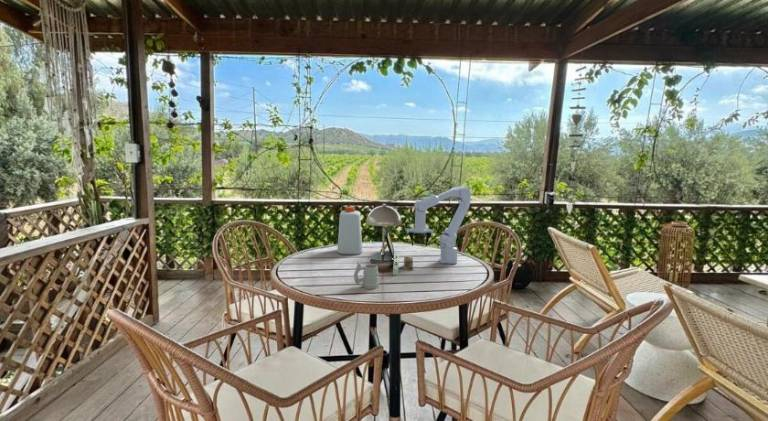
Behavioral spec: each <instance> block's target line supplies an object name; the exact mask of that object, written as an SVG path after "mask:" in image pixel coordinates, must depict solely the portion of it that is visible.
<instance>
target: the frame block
mask: <svg viewBox="0 0 768 421" xmlns="http://www.w3.org/2000/svg"><path fill="white" fill-rule="evenodd" d="M403 258H404V259H403V270H405V271H413V269H414V258H413V256H404V257H403Z"/></svg>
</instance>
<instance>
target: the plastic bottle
mask: <svg viewBox="0 0 768 421" xmlns="http://www.w3.org/2000/svg"><path fill="white" fill-rule="evenodd" d="M338 223H339V224H338V235H337V236H338V237H337V253H338V254H339V255H342V256H343V255H345V256H346V255H351V256H354V255H361V254H362V253H363V240H362V238H363V237H362V224H361V212H360V210H356V208H355V207H354V206H345V207H344V210H341V211H340V213H339V222H338Z"/></svg>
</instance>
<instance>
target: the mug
mask: <svg viewBox="0 0 768 421" xmlns="http://www.w3.org/2000/svg"><path fill="white" fill-rule="evenodd" d="M362 270H363V272H362V275H363V277H360V278H359V273H360V271H362ZM353 279H354V282H355V284H356V285H359V284H360V283H362V286H363V289H367V290H375V289H377V288H378V287H379V284H380V281H379V266H378V265H377V264H373V263H371V264H370V263H368V264H365V265H364V266H362V264H361V263H360V262H359V261H357V265H356V268H355V270H354V273H353Z"/></svg>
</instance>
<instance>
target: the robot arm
mask: <svg viewBox="0 0 768 421" xmlns="http://www.w3.org/2000/svg"><path fill="white" fill-rule="evenodd" d="M471 196H472V192H471V190H470V188H468V187H463V186H460V185H457V186H455V187H451V188H450V189H448V190H445V191H444V192H441V193H440V194H437V195H436V194H429V196H427V197H423V198H422V199H418V200H416V201H415V202H414V204H413V207H414V209H415V211H414V212H415V214H414V216H415V217H414V228H407V229H406V234H408V236H409V238H410V242H411V247H414V234H426V235H425V247H428V244H429V240H430V238H431V237H432V234H434V229H430V228H429V229H428V228H426V216H427V215H426V212H427V210H428V209H430V208H431V207H435V206H436V205H438V204H439V203H440V202H441V201H442V200H445V199H449V198H451V197H453V198H454V197H455V198H456V199H457V200H458V203H459V205H458V206H457V209H456V210H455V214H454V215H453V217H452V219H451V221H450V223H449V225H448V227H447V229H446V230H444V231H443V233H442V234H441V235H440V236H439V239H438V240H439V243H440V254H439V256H440V257H439V258H438V261H439V264H449V265H451V264H452V265H453V264H458V247H456V243H457V241H456V240H457V238H458V236H457V232H458V231H459V228H460V226H461V225H462V223H463V220H464V218H465V217H466V215H467V213H468V210H469V208H470V205H471Z"/></svg>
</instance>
